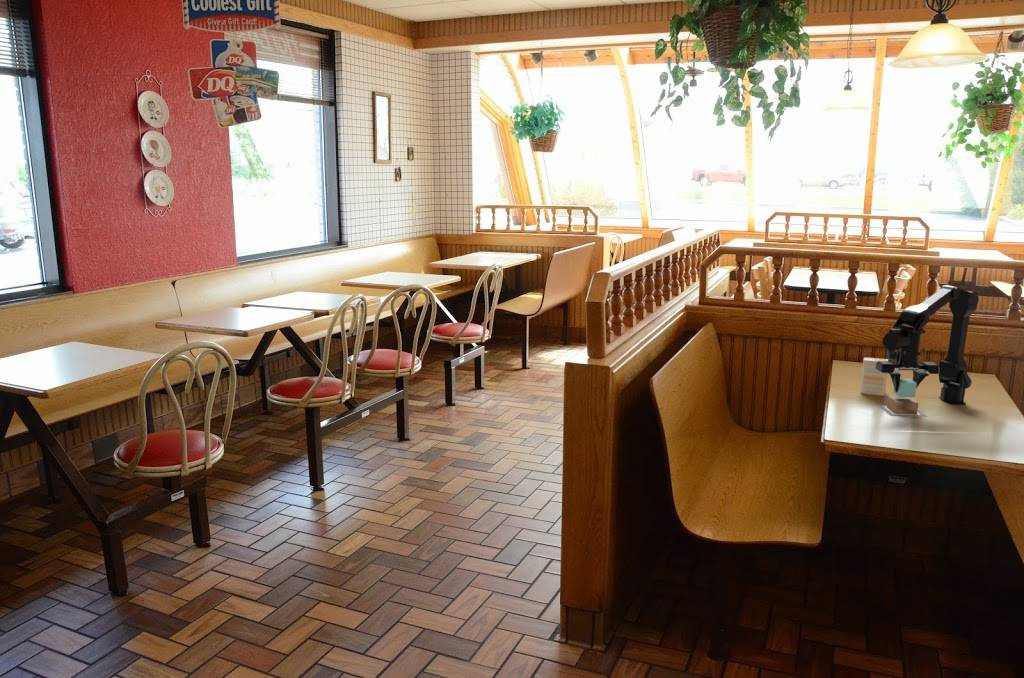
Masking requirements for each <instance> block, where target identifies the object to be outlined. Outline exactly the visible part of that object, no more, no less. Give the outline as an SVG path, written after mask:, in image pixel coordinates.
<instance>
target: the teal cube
mask: <svg viewBox="0 0 1024 678" xmlns="http://www.w3.org/2000/svg"><path fill="white" fill-rule="evenodd" d="M916 385H917V383H916V382H914V381H913V379H911V378H900V382H899V388H898V392H895V390H894V389H893V391H892V393H893V394H894V395H895V396H899V397H911V398H915V397H916V390H917V388H916Z"/></svg>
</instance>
